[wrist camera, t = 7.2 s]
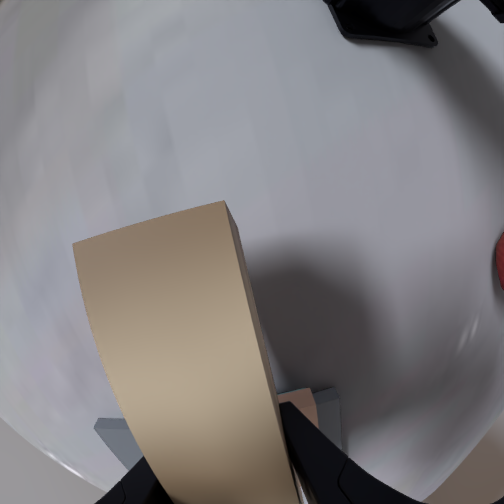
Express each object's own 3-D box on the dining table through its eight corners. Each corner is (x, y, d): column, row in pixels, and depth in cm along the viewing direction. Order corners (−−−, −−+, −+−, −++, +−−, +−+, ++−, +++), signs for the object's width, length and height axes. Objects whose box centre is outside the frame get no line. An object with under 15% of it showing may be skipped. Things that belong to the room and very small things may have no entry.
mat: (334, 386, 14) (339, 397, 13) (338, 464, 16) (341, 473, 15) (98, 418, 14) (93, 427, 13) (154, 486, 16) (152, 494, 15)
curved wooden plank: (301, 491, 9) (316, 562, 4) (237, 501, 9) (233, 571, 4) (237, 226, 9) (224, 200, 4) (150, 248, 9) (72, 243, 4)
